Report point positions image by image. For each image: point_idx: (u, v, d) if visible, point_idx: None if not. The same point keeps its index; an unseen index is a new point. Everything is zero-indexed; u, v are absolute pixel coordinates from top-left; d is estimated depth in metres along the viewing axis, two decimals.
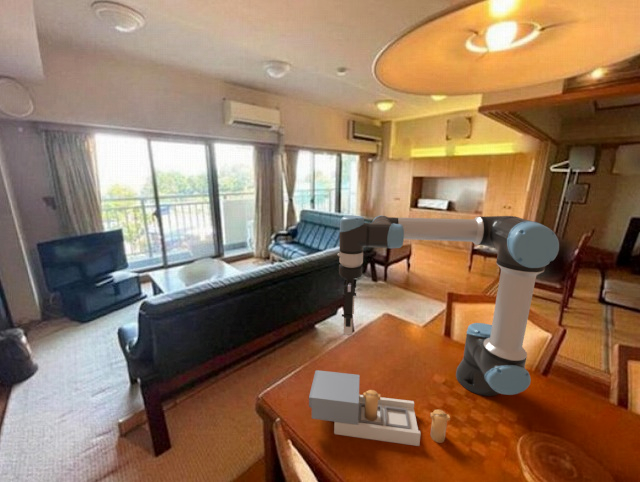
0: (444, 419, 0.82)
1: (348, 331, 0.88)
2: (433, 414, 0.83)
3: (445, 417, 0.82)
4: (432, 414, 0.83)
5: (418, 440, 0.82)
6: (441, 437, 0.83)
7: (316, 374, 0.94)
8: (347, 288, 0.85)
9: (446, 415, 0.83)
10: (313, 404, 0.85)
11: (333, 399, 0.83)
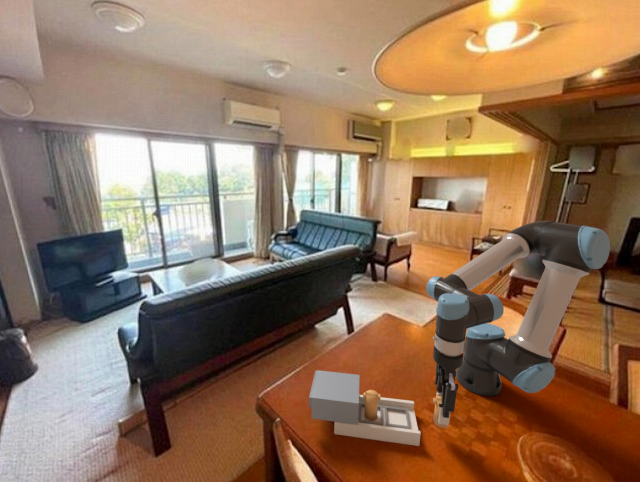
0: None
1: (445, 420, 0.81)
2: (435, 399, 0.82)
3: None
4: (435, 399, 0.82)
5: (418, 440, 0.82)
6: None
7: (316, 374, 0.94)
8: (450, 388, 0.74)
9: None
10: (313, 404, 0.85)
11: (333, 399, 0.83)
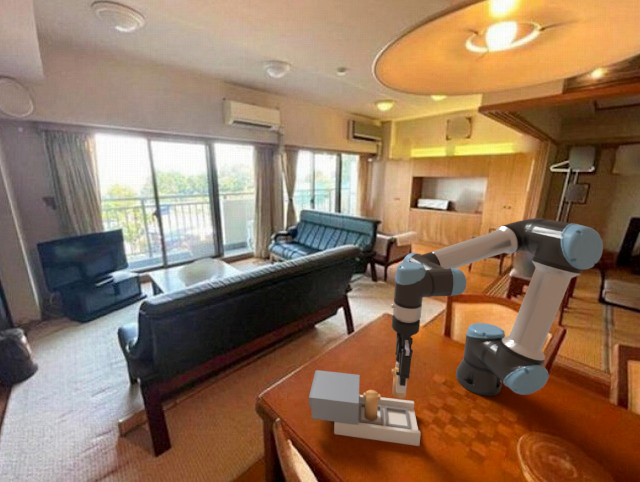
0: None
1: (402, 389, 0.82)
2: (394, 370, 0.84)
3: None
4: (393, 370, 0.84)
5: (418, 440, 0.82)
6: None
7: (316, 374, 0.94)
8: (405, 353, 0.75)
9: None
10: (313, 404, 0.85)
11: (333, 399, 0.83)
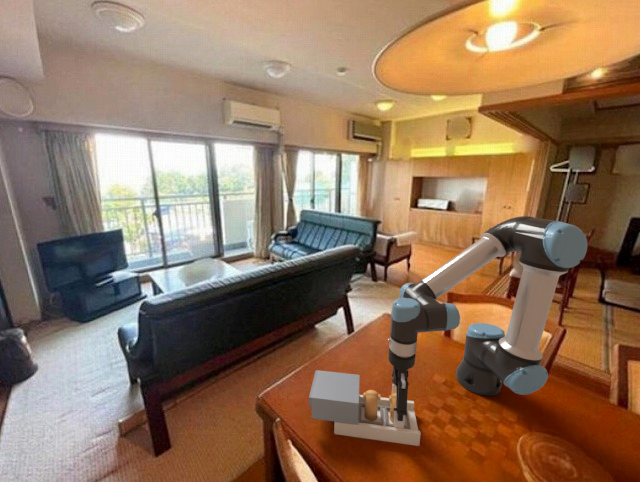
0: None
1: (400, 424, 0.83)
2: (391, 397, 0.87)
3: None
4: (390, 397, 0.86)
5: (418, 440, 0.82)
6: None
7: (316, 374, 0.94)
8: (401, 385, 0.77)
9: None
10: (313, 404, 0.85)
11: (333, 399, 0.83)
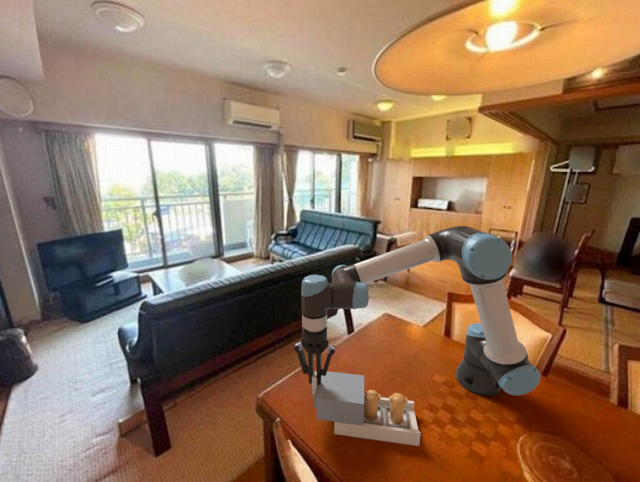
0: (401, 402, 0.85)
1: None
2: (391, 397, 0.86)
3: (403, 400, 0.85)
4: (391, 397, 0.86)
5: (418, 440, 0.82)
6: (399, 418, 0.86)
7: None
8: None
9: (404, 398, 0.86)
10: (318, 405, 0.84)
11: (338, 400, 0.83)
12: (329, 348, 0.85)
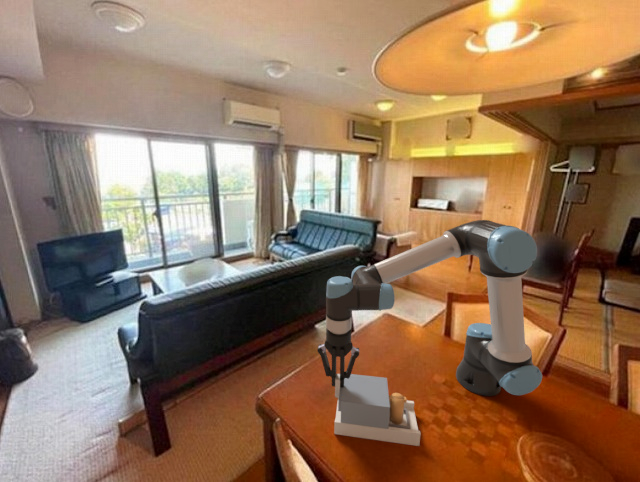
0: (401, 401, 0.85)
1: None
2: (390, 397, 0.86)
3: (402, 399, 0.85)
4: (390, 397, 0.86)
5: (418, 440, 0.82)
6: (399, 418, 0.86)
7: None
8: None
9: (403, 397, 0.86)
10: (342, 408, 0.83)
11: (363, 403, 0.82)
12: (353, 350, 0.84)
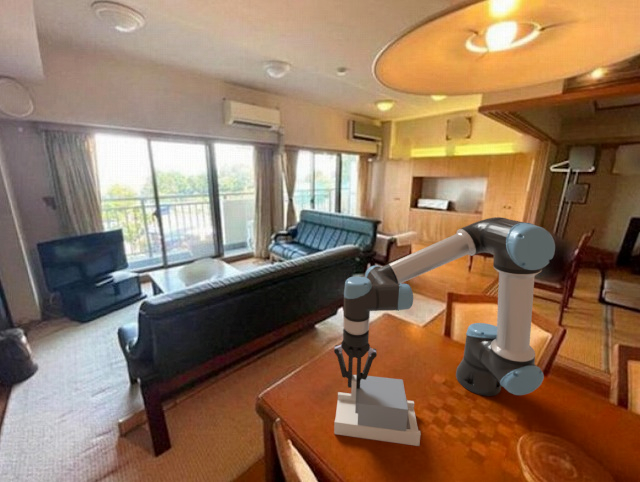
0: None
1: None
2: None
3: None
4: None
5: (418, 440, 0.82)
6: None
7: None
8: None
9: None
10: (359, 410, 0.82)
11: (381, 405, 0.81)
12: (370, 351, 0.84)
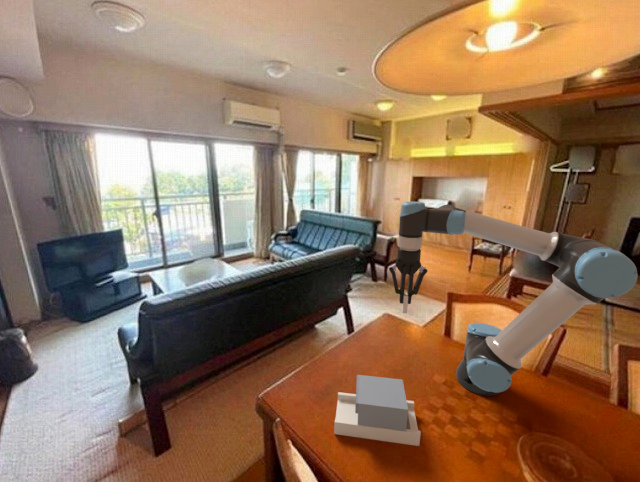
0: None
1: (402, 308, 1.00)
2: None
3: None
4: None
5: (418, 440, 0.82)
6: None
7: (358, 379, 0.91)
8: None
9: None
10: (359, 410, 0.82)
11: (381, 405, 0.81)
12: (422, 268, 0.95)
